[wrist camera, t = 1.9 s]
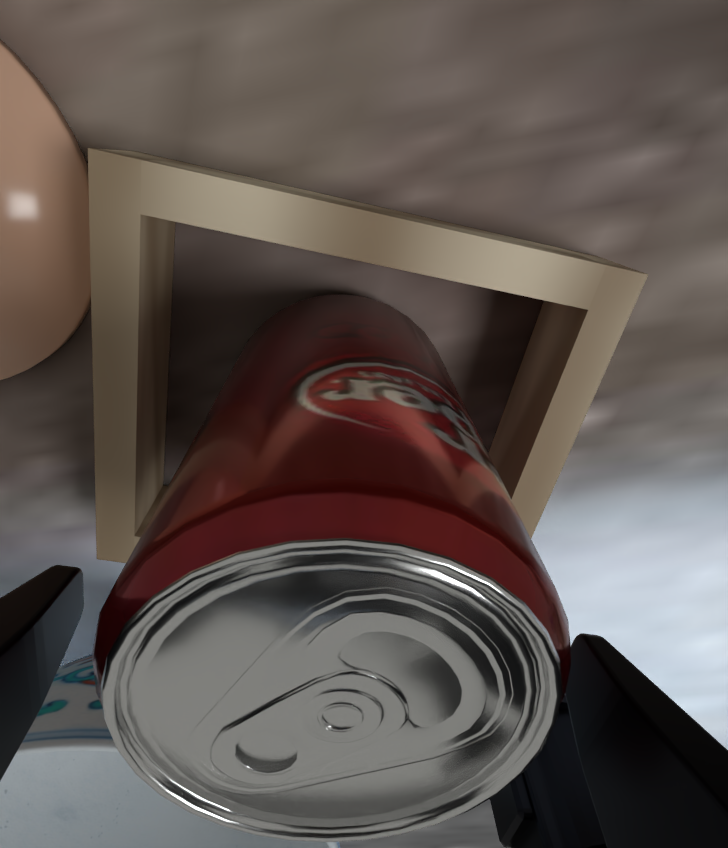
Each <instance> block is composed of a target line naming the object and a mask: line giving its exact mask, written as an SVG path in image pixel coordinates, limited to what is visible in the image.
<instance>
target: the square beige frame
mask: <svg viewBox="0 0 728 848" xmlns="http://www.w3.org/2000/svg"><path fill="white" fill-rule="evenodd" d="M88 182H89V227H90V272H91V317H92V362H93V408H94V453H95V498H96V543H97V559H100V560H107V561H115V562H122V563H127V561H128V559H129V557H130V555H131V554H132V552H133V550H134V548H135V546H136V544H137V543H138V541H139V539H140V537H141V535H142V533H143V532H144V530H145V528H146V526H147V524H148V523H149V521H150V519H151V517H152V515H153V513H154V512H155V510H156V508H157V506H158V504H159V502H160V501H161V499H162V497H163V495H164V493H165V492H166V490H167V488H168V486H164V485H163V478H164V457H165V435H166V414H167V393H168V371H169V350H170V329H171V307H172V286H173V264H174V243H175V222H179V223H184V224H188V225H193V226H198V227H203V228H207V229H212V230H217V231H221V232H226V233H231V234H235V235H240V236H245V237H249V238H254V239H259V240H263V241H268V242H273V243H277V244H282V245H287V246H292V247H296V248H301V249H306V250H310V251H315V252H320V253H324V254H329V255H334V256H338V257H343V258H348V259H352V260H357V261H362V262H366V263H371V264H376V265H381V266H385V267H390V268H395V269H399V270H404V271H409V272H413V273H418V274H423V275H427V276H432V277H437V278H441V279H446V280H451V281H455V282H460V283H465V284H470V285H474V286H479V287H484V288H488V289H493V290H498V291H502V292H507V293H512V294H516V295H521V296H526V297H530V298H535V299H540V300H544V302H543V305H542V308H541V310H540V313H539V316H538V319H537V321H536V324H535V327H534V330H533V332H532V335H531V338H530V341H529V343H528V346H527V349H526V352H525V354H524V357H523V360H522V362H521V365H520V368H519V371H518V373H517V376H516V379H515V382H514V384H513V387H512V390H511V393H510V395H509V398H508V401H507V404H506V406H505V409H504V412H503V415H502V417H501V420H500V423H499V426H498V428H497V431H496V434H495V436H494V439H493V442H492V445H491V447H490V450H489V453H488V454H489V456H490V458H491V460H492V462H493V464H494V466H495V468H496V470H497V472H498V474H499V476H500V478H501V480H502V482H503V484H504V486H505V488H506V490H507V492H508V494H509V496H510V498H511V500H512V502H513V504H514V506H515V508H516V510H517V512H518V514H519V516H520V518H521V520H522V522H523V524H524V526H525V528H526V530H527V532H528V534H529V536H530V538H532V535H533V533H534V531H535V529H536V526H537V524H538V522H539V520H540V517H541V515H542V513H543V511H544V508H545V506H546V504H547V502H548V499H549V497H550V495H551V493H552V490H553V488H554V486H555V484H556V481H557V479H558V477H559V475H560V472H561V470H562V468H563V466H564V463H565V461H566V459H567V457H568V454H569V452H570V450H571V448H572V445H573V443H574V441H575V439H576V436H577V434H578V432H579V430H580V427H581V425H582V423H583V421H584V418H585V416H586V414H587V412H588V409H589V407H590V405H591V403H592V400H593V398H594V396H595V394H596V391H597V389H598V387H599V385H600V382H601V380H602V378H603V376H604V373H605V371H606V369H607V367H608V364H609V362H610V360H611V358H612V355H613V353H614V351H615V348H616V346H617V344H618V342H619V339H620V337H621V335H622V333H623V330H624V328H625V326H626V324H627V321H628V319H629V317H630V315H631V312H632V310H633V308H634V306H635V303H636V301H637V299H638V297H639V294H640V292H641V290H642V288H643V285H644V283H645V281H646V279H647V276H648V274H645V273H642V272H640V271H637V270H634V269H631V268H628V267H626V266H623V265H620V264H617V263H614V262H612V261H609V260H606V259H603V258H601V257H597V256H593V255H589V254H584V253H580V252H575V251H571V250H567V249H562V248H558V247H554V246H549V245H545V244H540V243H536V242H532V241H527V240H523V239H518V238H514V237H510V236H505V235H501V234H496V233H492V232H488V231H483V230H479V229H475V228H470V227H466V226H461V225H457V224H453V223H448V222H444V221H439V220H435V219H431V218H426V217H422V216H417V215H413V214H409V213H404V212H400V211H395V210H391V209H387V208H382V207H378V206H374V205H369V204H365V203H360V202H356V201H352V200H347V199H343V198H338V197H334V196H330V195H325V194H321V193H316V192H312V191H308V190H303V189H299V188H295V187H290V186H286V185H281V184H277V183H273V182H268V181H264V180H259V179H255V178H251V177H246V176H242V175H237V174H233V173H229V172H224V171H220V170H215V169H211V168H207V167H202V166H198V165H194V164H189V163H185V162H180V161H176V160H172V159H167V158H163V157H158V156H154V155H150V154H145V153H141V152H136V151H125V150H111V149H96V148H88Z"/></svg>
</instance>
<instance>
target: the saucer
mask: <svg viewBox="0 0 728 848" xmlns="http://www.w3.org/2000/svg"><path fill="white" fill-rule="evenodd" d="M90 307H91V272H90V227H89V182H88V166H87V163H86V161H85V158H84V156H83V154H82V152H81V149H80V147H79V145H78V143H77V140H76V138H75V136H74V134H73V132H72V131H71V129H70V127H69V125H68V124H67V122H66V120H65V118H64V117H63V115H62V113H61V111H60V110H59V108H58V106H57V105H56V104H55V102H54V101H53V99H52V98H51V97H50V95H49V94H48V92H47V91H46V90H45V88H44V87H43V85H42V84H41V83H40V81H39V80H38V79H37V78H36V76H35V75H34V74H33V73H32V72H31V71H30V70H29V68H28V67H27V66H26V65H25V64H24V63H23V61H22V60H21V59H20V58H19V57H18V56H17V55H16V53H15V52H13V51H12V50H11V49H10V48H9V47H8V46H7V45H6V44H5V43H4V42H3V41H2V40H1V39H0V380H2V379H6V378H10V377H12V376H14V375H17V374H19V373H21V372H24V371H26V370H28V369H30V368H31V367H33V366H34V365H36V364H38V363H39V362H41V361H42V360H44V359H45V358H47V357H49V356H50V355H52V354H53V353H54V352H56V351H57V350H58V349H59V348H60V347H61V346H62V345H63V344H65V343H66V342H67V341H68V340H69V339H70V337H71V336H72V335H73V334H74V332H75V331H76V330H77V329H78V327H79V326H80V325H81V323H82V321H83V320H84V318H85V316H86V314H87V312H88V311H89V309H90Z"/></svg>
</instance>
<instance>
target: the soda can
mask: <svg viewBox="0 0 728 848" xmlns="http://www.w3.org/2000/svg"><path fill="white" fill-rule="evenodd" d="M92 661H93V670H94V679H95V688H96V694H97V696H98V698H99V701H100V703H101V706H102V708H103V717H104V719H105V722H106V724H107V727H108V729H109V731H110V734H111V736H112V739H113V741H114V743H115V746H116V748H117V750H118V751H119V753H120V754H121V755H122V757H123V758H124V759H125V761H126V762H127V763H128V765H129V766H130V767H131V769H132V770H133V771H134V772H135V774H136V775H137V776H139V777H140V778H141V779H142V780H143V781H144V782H146V783H147V784H148V785H149V786H150V787H151V788H153V789H154V790H155V791H156V792H157V793H158V794H159V795H161V796H163V797H164V798H166V799H168V800H169V801H171V802H173V803H174V804H176V805H178V806H179V807H181V808H183V809H184V810H186V811H188V812H189V813H192V814H194V815H197V816H199V817H202V818H204V819H206V820H209V821H211V822H214V823H216V824H219V825H221V826H224V827H228V828H232V829H235V830H239V831H243V832H246V833H250V834H254V835H258V836H265V837H271V838H278V839H285V840H291V841H311V842H343V841H359V840H370V839H376V838H382V837H388V836H394V835H400V834H404V833H408V832H411V831H415V830H418V829H422V828H425V827H429V826H432V825H436V824H439V823H441V822H443V821H446V820H448V819H451V818H453V817H455V816H458V815H460V814H462V813H465V812H467V811H469V810H471V809H473V808H475V807H476V806H478V805H480V804H481V803H483V802H485V801H486V800H488V799H490V798H492V797H493V796H495V795H497V794H498V793H499V792H501V791H502V790H503V789H504V788H505V787H507V786H508V785H509V784H510V783H512V782H513V781H514V780H515V779H516V778H518V777H519V776H520V775H521V774H522V773H523V772H524V771H525V770H526V769H527V767H528V766H529V765H530V764H531V763H532V761H533V760H534V759H535V758H536V757H537V755H538V754H539V753H540V752H541V751H542V749H543V747H544V745H545V743H546V741H547V739H548V737H549V735H550V733H551V731H552V729H553V727H554V725H555V723H556V721H557V718H558V713H559V708H560V704H561V702H562V700H563V698H564V696H565V692H566V687H567V682H568V678H569V673H570V668H571V648H570V636H569V624H568V619H567V616H566V614H565V611H564V609H563V606H562V603H561V601H560V598H559V596H558V593H557V591H556V588H555V586H554V584H553V582H552V580H551V578H550V576H549V574H548V572H547V570H546V568H545V566H544V564H543V562H542V560H541V558H540V556H539V554H538V552H537V550H536V548H535V546H534V544H533V542H532V540H531V538H530V536H529V534H528V532H527V530H526V528H525V526H524V524H523V522H522V520H521V518H520V516H519V514H518V512H517V510H516V508H515V506H514V504H513V502H512V500H511V498H510V496H509V494H508V492H507V490H506V488H505V486H504V484H503V482H502V480H501V478H500V476H499V474H498V472H497V470H496V468H495V466H494V464H493V462H492V460H491V458H490V456H489V454H488V452H487V450H486V448H485V446H484V444H483V442H482V440H481V438H480V436H479V434H478V432H477V430H476V428H475V426H474V424H473V422H472V420H471V418H470V416H469V414H468V412H467V410H466V408H465V406H464V404H463V402H462V400H461V398H460V396H459V394H458V392H457V390H456V388H455V386H454V384H453V382H452V380H451V378H450V376H449V374H448V372H447V370H446V368H445V366H444V364H443V362H442V360H441V358H440V356H439V354H438V352H437V350H436V348H435V347H434V345H433V344H432V342H431V341H430V340H429V338H428V337H427V335H426V334H425V332H424V331H423V330H422V329H421V328H419V327H418V326H417V325H416V324H415V323H414V322H413V321H412V320H411V319H410V318H409V317H407V316H406V315H404V314H402V313H401V312H399V311H398V310H396V309H394V308H393V307H391V306H389V305H387V304H384V303H381V302H379V301H376V300H373V299H370V298H367V297H361V296H354V295H348V294H338V295H321V296H317V297H313V298H309V299H305V300H301V301H299V302H297V303H295V304H293V305H291V306H288V307H286V308H284V309H282V310H280V311H279V312H277V313H276V314H275V315H273V316H272V317H271V318H270V319H268V320H267V321H266V322H264V323H263V324H262V325H261V326H260V327H259V328H258V330H257V331H256V332H255V333H254V334H253V336H252V337H251V338H250V339H249V340H248V342H247V344H246V345H245V347H244V349H243V351H242V353H241V355H240V356H239V358H238V360H237V362H236V364H235V366H234V367H233V369H232V371H231V373H230V375H229V377H228V378H227V380H226V382H225V384H224V386H223V387H222V389H221V391H220V393H219V395H218V397H217V398H216V400H215V402H214V404H213V406H212V408H211V409H210V411H209V413H208V415H207V417H206V419H205V420H204V422H203V424H202V426H201V428H200V429H199V431H198V433H197V435H196V437H195V439H194V440H193V442H192V444H191V446H190V448H189V450H188V451H187V453H186V455H185V457H184V459H183V460H182V462H181V464H180V466H179V468H178V470H177V471H176V473H175V475H174V477H173V479H172V481H171V482H170V484H169V486H168V488H167V490H166V492H165V493H164V495H163V497H162V499H161V501H160V502H159V504H158V506H157V508H156V510H155V512H154V513H153V515H152V517H151V519H150V521H149V523H148V524H147V526H146V528H145V530H144V532H143V533H142V535H141V537H140V539H139V541H138V543H137V544H136V546H135V548H134V550H133V552H132V554H131V555H130V557H129V559H128V561H127V563H126V565H125V566H124V568H123V570H122V572H121V574H120V575H119V577H118V579H117V581H116V583H115V585H114V587H113V589H112V591H111V592H110V594H109V596H108V598H107V600H106V602H105V604H104V606H103V608H102V610H101V611H100V614H99V619H98V624H97V629H96V634H95V639H94V644H93V658H92Z"/></svg>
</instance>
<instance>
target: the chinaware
mask: <svg viewBox="0 0 728 848" xmlns="http://www.w3.org/2000/svg"><path fill="white" fill-rule="evenodd" d="M92 658H93V654H92V655H89V656H86V657H83V658H81V659H78V660H75V661H73V662H70V663H68V664H66V665H64V666H61V667H59V669H58V671H57V673H56V675H55V678H54V680H53V682H52V685H51V687H50V689H49V692H48V694H47V696H46V698H45V700H44V703H43V705H42V707H41V709H40V711H39V713H38V715H37V716H36V718H35V720H34V722H33V724H32V726H31V728H30V729H29V731H28V733H27V735H26V736H25V738H24V740H23V742H22V744H21V745H20V747H19V749H18V751H17V752H16V754H15V756H14V758H13V760H12V761H11V763H10V765H9V767H8V769H7V770H6V772H5V774H4V776H3V777H2V779H1V781H0V848H340V846H339V842H311V841H291V840H285V839H278V838H271V837H265V836H258V835H254V834H250V833H246V832H243V831H239V830H235V829H232V828H228V827H224V826H221V825H219V824H216V823H214V822H211V821H209V820H206V819H204V818H202V817H199V816H197V815H194V814H192V813H189V812H188V811H186V810H184V809H183V808H181V807H179V806H178V805H176V804H174V803H173V802H171V801H169V800H168V799H166V798H164V797H163V796H161V795H159V794H158V793H157V792H156V791H155V790H154V789H153V788H151V787H150V786H149V785H148V784H147V783H146V782H144V781H143V780H142V779H141V778H140V777H139V776H137V775H136V774H135V772H134V771H133V770H132V769H131V767H130V766H129V765H128V763H127V762H126V761H125V759H124V758H123V757H122V755H121V754H120V753H119V751H118V750H117V748H116V746H115V743H114V741H113V739H112V736H111V734H110V731H109V729H108V727H107V724H106V722H105V719H104V717H103V708H102V706H101V703H100V701H99V698H98V696H97V694H96V688H95V679H94V670H93V661H92Z"/></svg>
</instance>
